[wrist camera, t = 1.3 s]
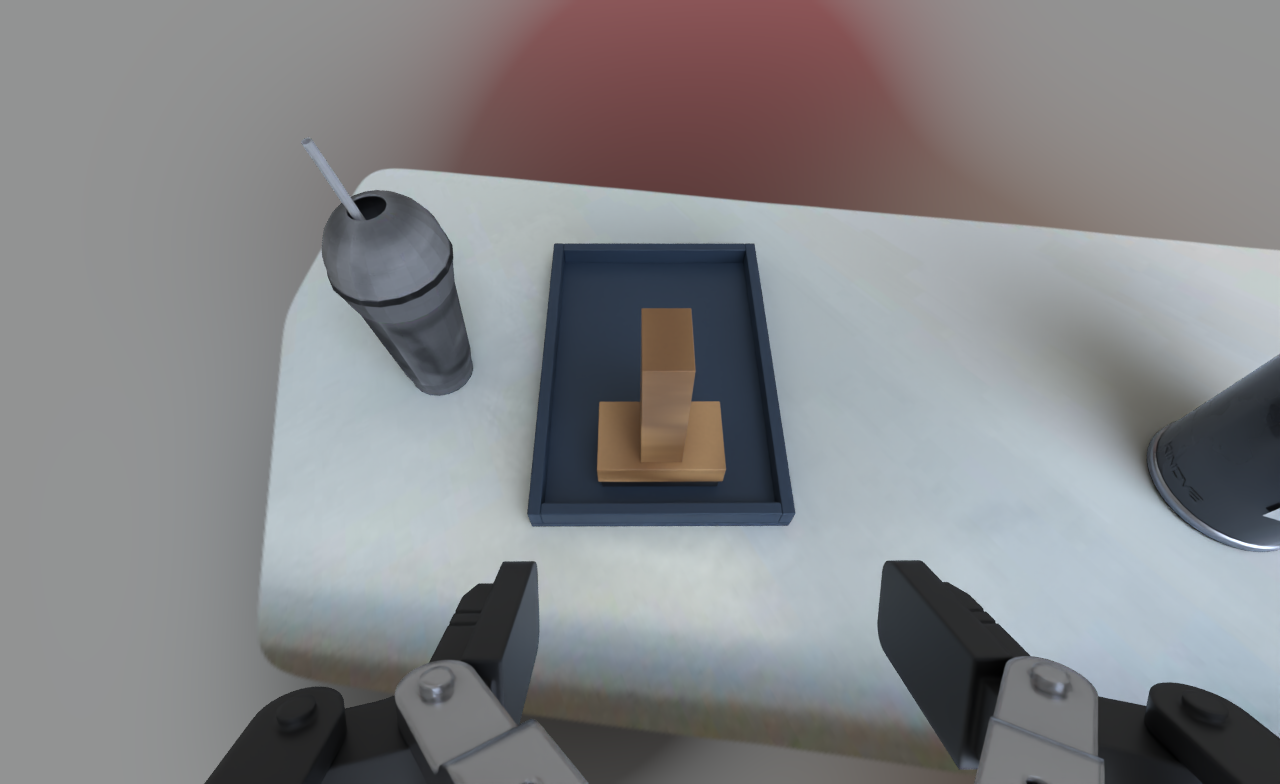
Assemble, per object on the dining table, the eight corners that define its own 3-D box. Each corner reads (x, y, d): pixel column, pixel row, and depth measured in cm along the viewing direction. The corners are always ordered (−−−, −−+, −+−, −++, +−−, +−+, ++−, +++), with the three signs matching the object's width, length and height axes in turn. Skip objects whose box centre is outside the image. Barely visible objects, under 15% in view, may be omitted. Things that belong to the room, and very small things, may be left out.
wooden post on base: (714, 423, 43) (742, 300, 32) (720, 489, 40) (752, 379, 29) (601, 423, 42) (589, 300, 32) (599, 489, 40) (585, 380, 29)
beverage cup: (510, 375, 45) (436, 137, 28) (423, 429, 43) (286, 203, 26) (460, 317, 48) (366, 70, 31) (376, 364, 46) (225, 123, 29)
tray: (750, 261, 52) (754, 243, 50) (788, 525, 39) (795, 513, 37) (556, 261, 52) (554, 243, 50) (532, 526, 39) (526, 514, 37)
